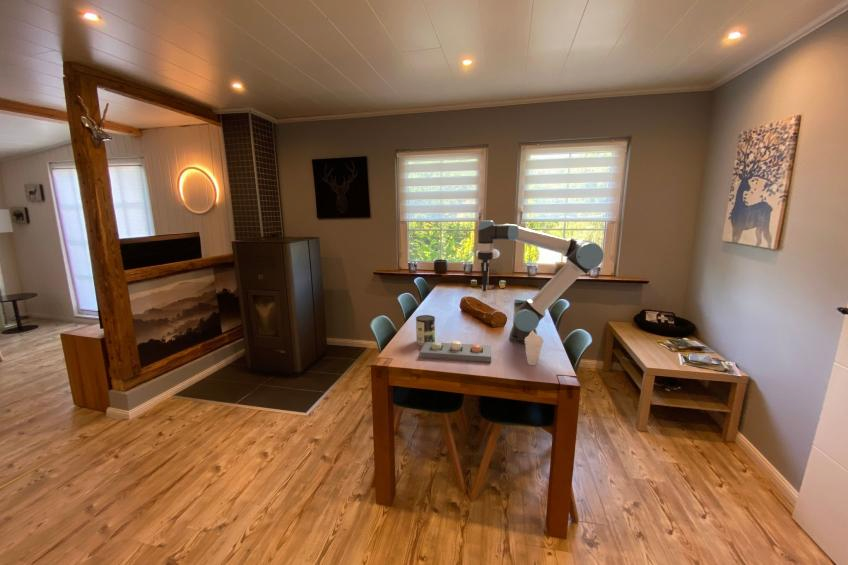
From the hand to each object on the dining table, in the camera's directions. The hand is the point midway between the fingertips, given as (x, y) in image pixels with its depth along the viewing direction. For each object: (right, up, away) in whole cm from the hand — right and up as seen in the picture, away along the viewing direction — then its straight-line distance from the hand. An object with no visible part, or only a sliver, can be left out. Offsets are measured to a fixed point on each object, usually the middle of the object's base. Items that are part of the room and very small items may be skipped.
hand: (484, 296), depth 179 cm
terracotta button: (-5, -28, -9) cm, 30 cm away
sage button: (-25, -27, -5) cm, 37 cm away
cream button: (-15, -26, -7) cm, 31 cm away
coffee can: (-30, -26, +10) cm, 41 cm away
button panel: (-15, -29, -7) cm, 33 cm away
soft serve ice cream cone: (+19, -31, -18) cm, 40 cm away
